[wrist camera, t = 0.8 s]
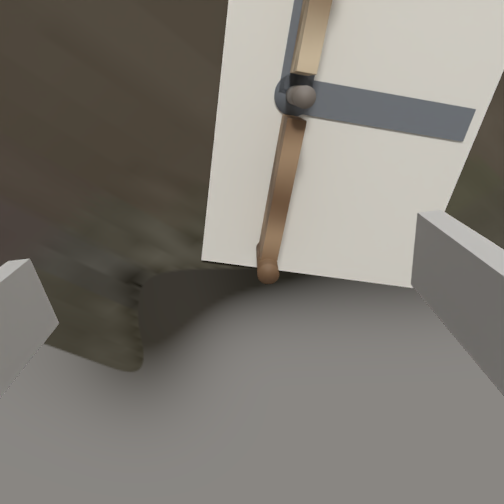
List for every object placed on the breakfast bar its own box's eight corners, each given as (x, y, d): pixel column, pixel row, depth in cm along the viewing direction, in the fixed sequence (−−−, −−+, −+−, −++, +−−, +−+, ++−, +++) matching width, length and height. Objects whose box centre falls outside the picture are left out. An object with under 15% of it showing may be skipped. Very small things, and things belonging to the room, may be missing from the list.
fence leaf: (280, 113, 28) (286, 118, 23) (301, 117, 28) (312, 123, 23) (254, 255, 34) (255, 282, 29) (272, 257, 34) (276, 285, 29)
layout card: (202, 258, 35) (201, 260, 34) (241, -119, 23) (241, -124, 22) (410, 286, 36) (413, 288, 36) (550, -51, 24) (556, -54, 24)
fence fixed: (302, 106, 29) (316, 111, 23) (281, 102, 28) (289, 106, 23) (343, -99, 23) (375, -161, 17) (317, -105, 23) (341, -169, 17)
